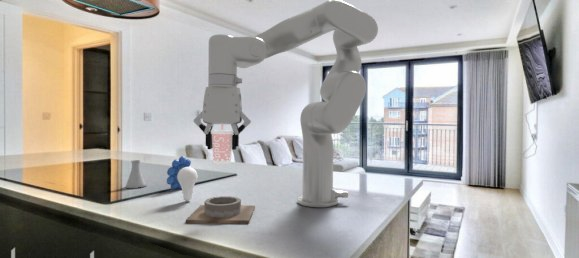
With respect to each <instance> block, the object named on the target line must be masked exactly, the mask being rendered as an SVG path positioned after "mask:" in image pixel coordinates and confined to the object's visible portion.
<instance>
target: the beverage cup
mask: <svg viewBox="0 0 579 258" xmlns="http://www.w3.org/2000/svg"><path fill="white" fill-rule="evenodd" d="M220 125H221V127H220V128H221V129H214V130H213V129H212V130H211V134H212V147H213V148H212V159H213V160H212V162H213V163H212V164H213V165H218V166H219V165H220V166H223V165H224V166H225V165H231V163H232V150H233V149H232V135H233V133H234V131H233V129H229V130H228V129H224V124H220Z"/></svg>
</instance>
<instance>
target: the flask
mask: <svg viewBox="0 0 579 258" xmlns="http://www.w3.org/2000/svg"><path fill="white" fill-rule="evenodd" d="M130 162H131V169H130V174H129V176H128V179H127V181H126V185H125V188H127V189H139V188H138V187H141V188H145V187H147V183H146V181H145V179H144V176H143V174H142V170H141V166H140V163H141V159H133V160H131V161H130Z"/></svg>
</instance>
